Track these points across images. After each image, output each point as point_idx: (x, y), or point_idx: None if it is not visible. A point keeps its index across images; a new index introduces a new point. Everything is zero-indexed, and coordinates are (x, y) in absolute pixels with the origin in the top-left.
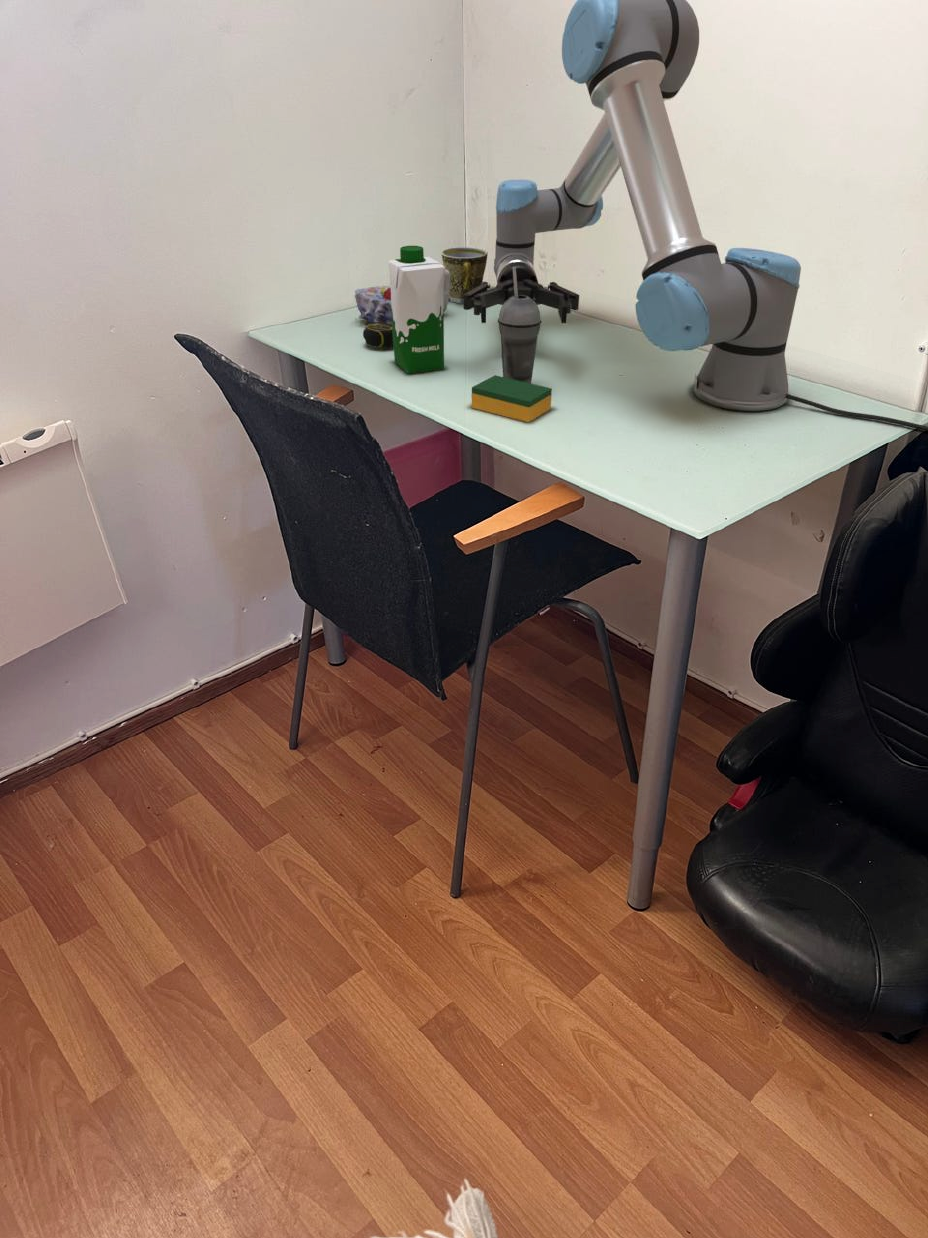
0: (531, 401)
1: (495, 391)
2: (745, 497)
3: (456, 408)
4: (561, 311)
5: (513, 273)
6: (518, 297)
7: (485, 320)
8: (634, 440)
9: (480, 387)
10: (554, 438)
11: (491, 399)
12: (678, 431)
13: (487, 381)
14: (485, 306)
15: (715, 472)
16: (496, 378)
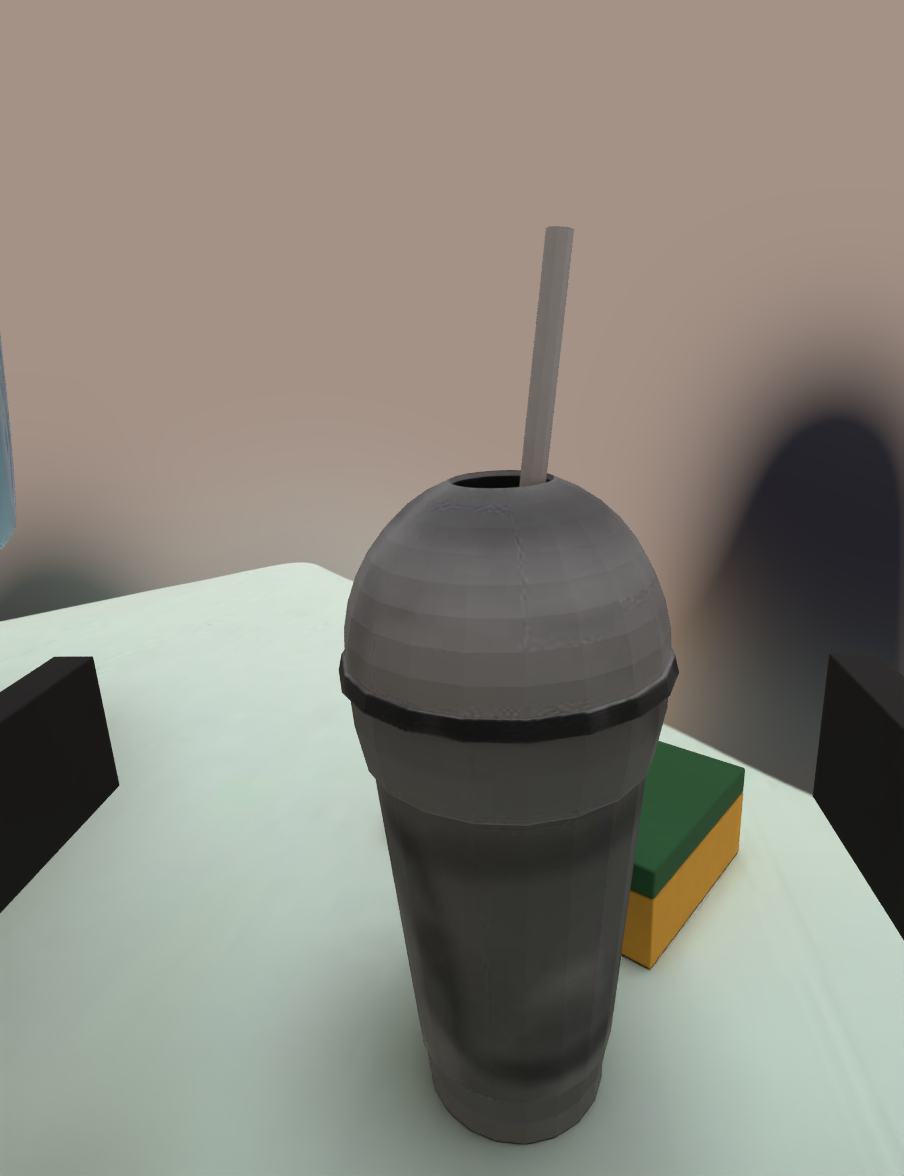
0: None
1: None
2: (177, 590)
3: (806, 849)
4: (56, 759)
5: (563, 283)
6: (508, 533)
7: (819, 775)
8: (228, 692)
9: (702, 764)
10: None
11: None
12: None
13: (682, 809)
14: (840, 660)
15: (158, 623)
16: (640, 835)
